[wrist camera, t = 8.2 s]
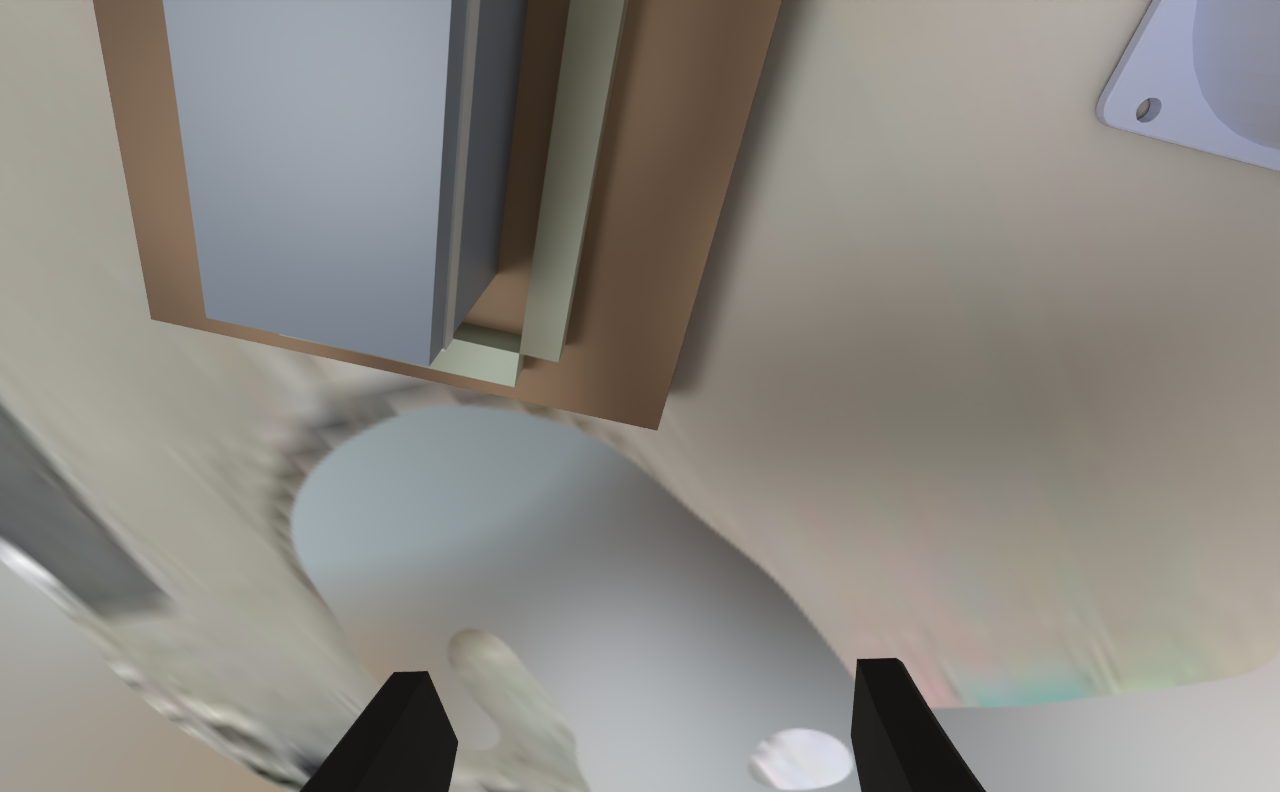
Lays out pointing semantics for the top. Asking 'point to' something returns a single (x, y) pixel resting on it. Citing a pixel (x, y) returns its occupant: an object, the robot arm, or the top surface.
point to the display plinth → (524, 196)
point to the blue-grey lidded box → (347, 162)
